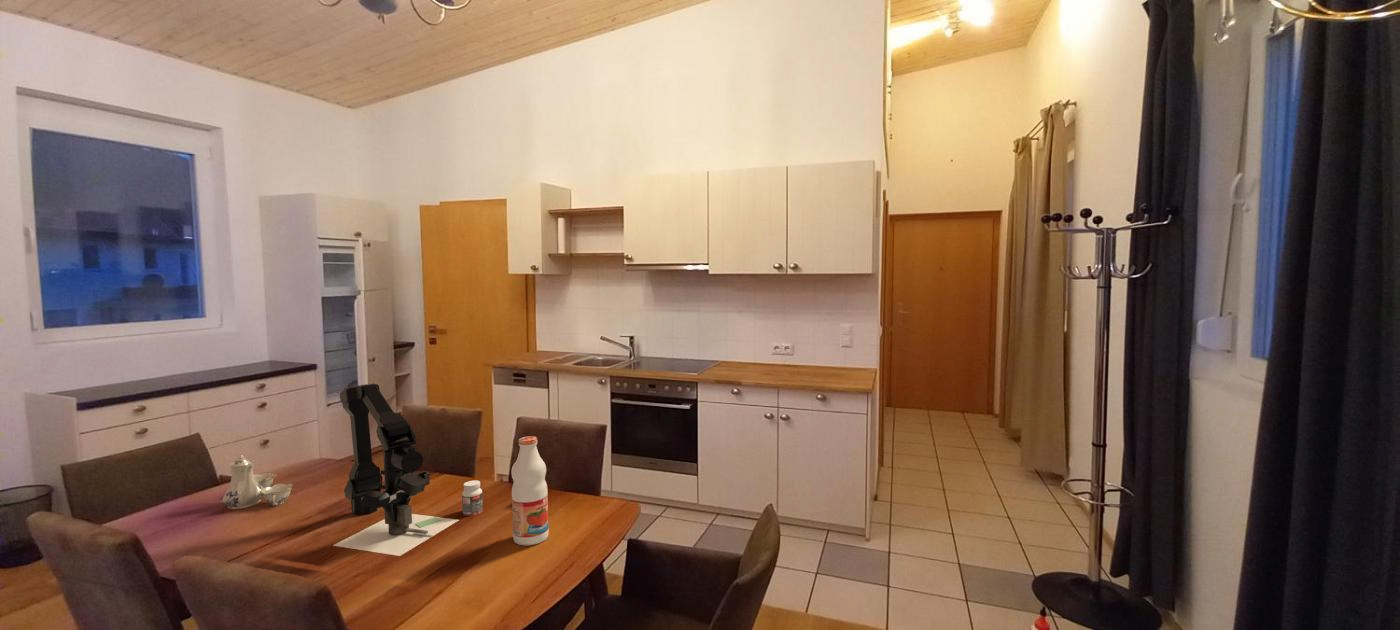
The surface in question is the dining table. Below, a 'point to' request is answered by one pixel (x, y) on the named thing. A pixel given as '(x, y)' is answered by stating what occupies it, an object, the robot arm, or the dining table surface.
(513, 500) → the fruit juice
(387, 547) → the dial plate
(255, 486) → the chinaware
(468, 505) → the pill bottle
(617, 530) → the dining table surface
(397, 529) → the dark grey angled piece
